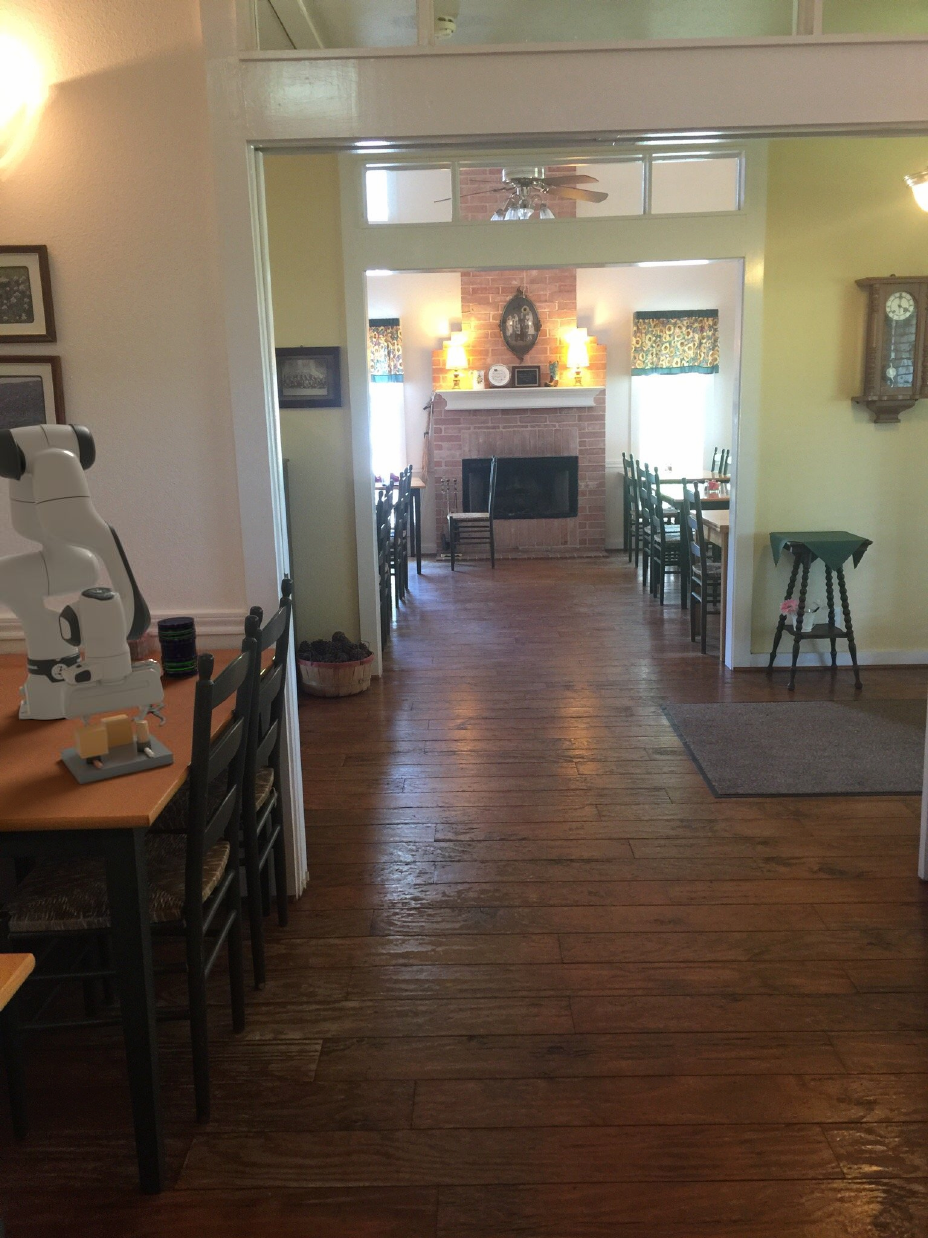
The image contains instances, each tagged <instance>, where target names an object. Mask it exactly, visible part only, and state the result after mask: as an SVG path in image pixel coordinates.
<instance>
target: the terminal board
mask: <svg viewBox="0 0 928 1238" xmlns="http://www.w3.org/2000/svg"><path fill="white" fill-rule="evenodd" d="M148 724H149V723H148V720H145V719H144V720H140V721H137V722H136V721H135V722H134V725H135V734H134V733H133V741H134V743H129V744H124V745H120V746H115V747H110V748H109V747H108V745H107V737H106V729H105V728H104V727H103V726H102V725H101V722H96V723H91V724H90V725H87V726H86V725H83V726H77V727H73V735H74V741H75V746H71V747H68V748H67V747H66V748H63V749H60V757H61V760H62V762H63V763H64V764H65V765H66V767H67V768H68V769H69V771H70V772H71V774H72V775H73V776H74V777H75V779H76V780H77V782H78V783H79V784H80V785H83V784H87V783H90V782H91V783H92V782H97V781H100V780H106V779H109V778H114V777H118V775H119V776H122V775H127V774H133V773H135V772H140V771H144V770H148V769H149V770H150V769H153V768H158V767H162V766H163V767H164V766H167V765H170V764H174V755H173V754H174V753H173V752H172V751H171V750H169V749H168V748H167V747H166V746H165V745H164V744H163V743H162V742H160V741H159V740H158V739H157V738H156V737H155V736H154V735H153V734H151V733H150V731H149V725H148ZM105 778H106V779H105Z"/></svg>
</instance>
